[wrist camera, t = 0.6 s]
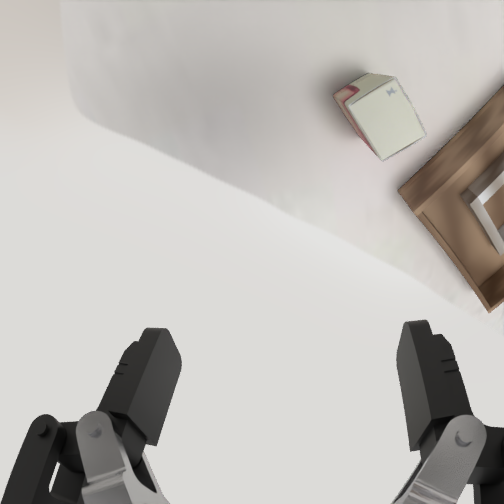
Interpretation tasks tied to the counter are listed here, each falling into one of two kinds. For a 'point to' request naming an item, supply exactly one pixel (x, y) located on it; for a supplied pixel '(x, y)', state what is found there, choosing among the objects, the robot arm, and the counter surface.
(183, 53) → the counter surface
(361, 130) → the small box
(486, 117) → the crate
